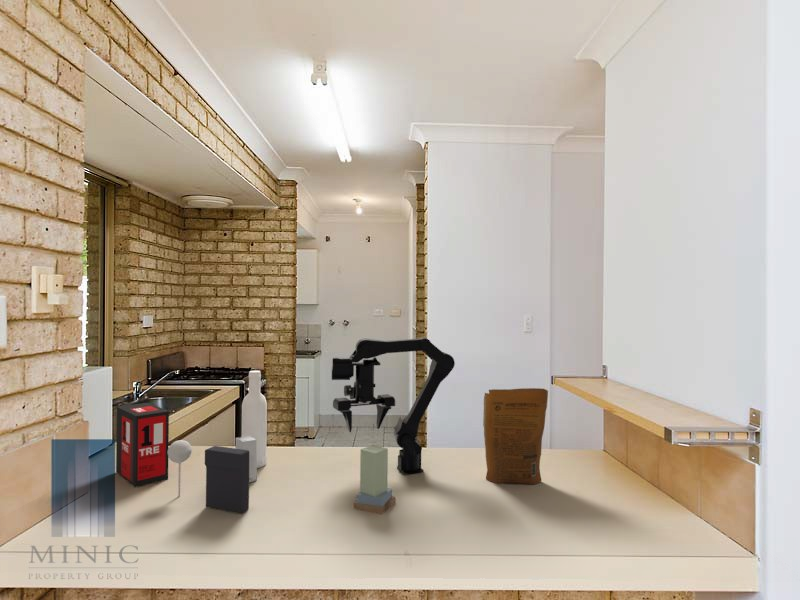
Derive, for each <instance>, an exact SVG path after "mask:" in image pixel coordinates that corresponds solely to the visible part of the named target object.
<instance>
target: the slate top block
mask: <svg viewBox="0 0 800 600" xmlns="http://www.w3.org/2000/svg"><path fill="white" fill-rule="evenodd" d="M392 496H393V487H387V491H386V492H384V493H382V494H380V495H378V496H375V497H374V496H371V495H368V494H365V493H362V492H360V491H359V492H358V493H357V494H356V500H357V503H360V504H366V505H372V506H379V507H383V506H384V505H385V504H386V503H387V502H388V501H389V499H390V498H391V497H392Z"/></svg>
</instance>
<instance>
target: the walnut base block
mask: <svg viewBox="0 0 800 600" xmlns="http://www.w3.org/2000/svg"><path fill="white" fill-rule="evenodd" d="M394 504H396V496H395V495H392V497H391V498H390V499H389V501H388V502H387V503H386V504H385V505H384V506H383V507H379V506H372V505H366V504H360V503H357V499H356V500H354V501H353V509H356V510H360V511H365V512H369V513H374V514H377V515H382V514H383V513H385V512H386V511H387V510H388V509H390V508H391V507H392V506H393V505H394ZM391 505H392V506H391ZM390 506H391V507H390ZM389 507H390V508H389Z"/></svg>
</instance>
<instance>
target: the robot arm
mask: <svg viewBox="0 0 800 600" xmlns="http://www.w3.org/2000/svg"><path fill="white" fill-rule="evenodd" d="M408 352H423V353H424V354H425V355H426V356H427V357H428V358H429V359H430V360H431V362H430V365H429V371H428V375H427V377H426V380H425V381H424V384H423V385H422V387H421V389H420V391H419V393H418V395H417V397H416V398H415V400H414V403H413V404H412V407H411V408H410V410H409V411H408V412H409V413H408V414H407V415H406V416H405V417H404V418H401V417H399V418H398V420H397V423H396V425H395V426H394V427H393V430H394V431H393V437H394V440H395V441H396V444H397V445H398V447H400V448H401V449H399V451H398V452H399V453H398V456H397V466H396V469H398V470H399V471H400V472H402V473H403V474H404V475H410V474H411V475H412V474H419V473H423V472H424V469H423V468H422V450H423V447H422V445H421V444H420V442H419V441H418V439H417V437H418V432H419V428H420V427H419V426H420V422H422V419H423V416H424V415H425V413H426V411H427V409H428V407H429V405H430V403H431V401H432V399H433V398H434V396H435V394H436V392H437V390H438V388H439V387H440V384H441V383H442V382H443V381H444V380H445V379H446V378H447V377H448V376H449V375H450V373H451V372H452V371H453V369H454V367H455V364H456V362H455V359H454V357H453V356H452V355H451V354H448V353H447V352H444V351H442V350H440V349H439V348H438V347H437V346H436V345H435V344H433V343H432V342H431V340H430V339H429V338H426V337H420V338H410V339H408V338H407V339H395V340H393V339H392V340H381V339H374V338H361V339H359V340H358V341H356V344H355V350H354V351H353V352H352V354H351V355H350V356H349V357H346V358H345V357H332V361H331V363H332V366H331V381H350V380H351V379H352V378H354V376H355V381H354V382H353V386H352V385H351V384H349V385H344V386H343V395H344V397H336V398H334V399H333V401H332V408H334V409H335V410H336V411H338V412H339V413H341V414H342V415H343V417H344V420H345V423H346V427H347V430H348V432H349V433H351V432H352V430H353V422H352V421H353V419H352V417H353V411H352V410H351V408H352V407H358V406H359V407H361V406H370V405H373V406H374V405H376V411H377V412H376V413H377V414H376V429H378V430H379V429H380V428H381V425H382V423H383V422H384V418H385V417H386V415H387V414H388V413H389V410H392V407H396V399H395V397H394V396H392V395H390V394H389V393H388V394H386V393H385V394H378V395H377V396H376V397H375V388H376V383H375V366H381V362H380V361H378V358H377V357H378V356H382V355H385V354H394V353H408ZM361 361H362V362H361ZM347 397H349V398H347Z"/></svg>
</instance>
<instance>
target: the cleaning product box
mask: <svg viewBox="0 0 800 600" xmlns="http://www.w3.org/2000/svg"><path fill="white" fill-rule="evenodd" d="M169 421H170V410H167V409H165V408H162V407H160V406H158V405H155V404H153V403H150V402H143V403H134V404H129V405H120V406H116V441H115V442H116V444H115V446H116V447H115V448H116V453H115V473H116V474H117V475H119V476H120V477H121V478H122V479H124V480H125V481H127V483H129V484H131V485H132V486H133V487H135V488H139V487H143V486H146V485H151V484H154V483H159V482H162V480H163V481H166V480H169V457H168V453H167V452H168V449H169V440H170V439H169V437H170V436H169V434H170V433H169V432H170V429H169V428H170V426H169V424H170V423H169Z"/></svg>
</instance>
